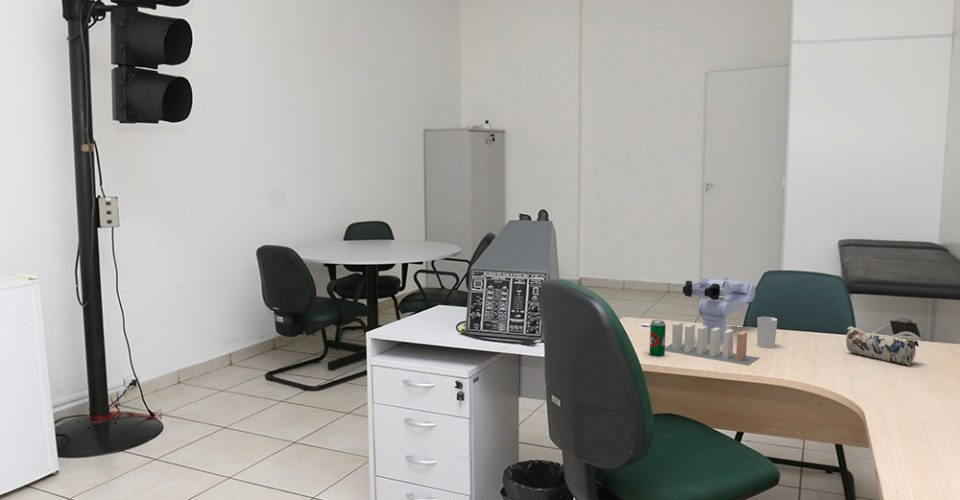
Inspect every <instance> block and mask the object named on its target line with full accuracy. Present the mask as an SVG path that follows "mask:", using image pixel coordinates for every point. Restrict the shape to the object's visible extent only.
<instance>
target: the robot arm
mask: <svg viewBox="0 0 960 500" xmlns="http://www.w3.org/2000/svg"><path fill="white" fill-rule="evenodd" d="M682 294H684V296H685V297H689V298H692V297H693V295H694V296H695V297H698V298H701V300H700V301H699V303H698V309H697V310H698V313H699V316H701V319H703V320H702V326H708V333H707V344H708V345H710V332H711V330H712V329H714V328H716V327H717V328H721V331H720V346H721V345H723V338H724V332H725V331H727V322H726V319H727V318H728V317H729V316H730V315H731V313H733V312H738V311H741V309H742V308H744V306H745V305H746V304H747V303H751V302H753V300H754V298H755V295H756V285H755V284H754V282H753V283H751V282H747V281H739V280H731V279H730V278H729V277H723V278H719V279H712V278H711V279H708V278H701V281H698V282H695V283H694V282H693V281H692V280H687V281H685V284H683V285H682ZM720 297H724V299H721V300H719V299H720ZM709 298H710V299H709Z"/></svg>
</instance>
